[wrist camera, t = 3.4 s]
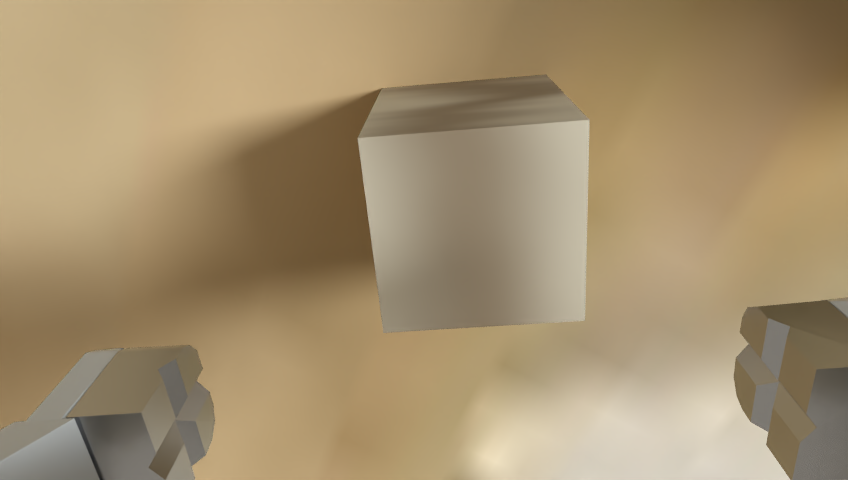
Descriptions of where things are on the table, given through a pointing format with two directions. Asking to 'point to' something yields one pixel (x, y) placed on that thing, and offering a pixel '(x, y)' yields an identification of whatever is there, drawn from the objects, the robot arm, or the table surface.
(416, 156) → the ash block
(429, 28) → the table surface
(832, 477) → the robot arm
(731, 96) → the table surface
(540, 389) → the table surface
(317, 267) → the table surface
